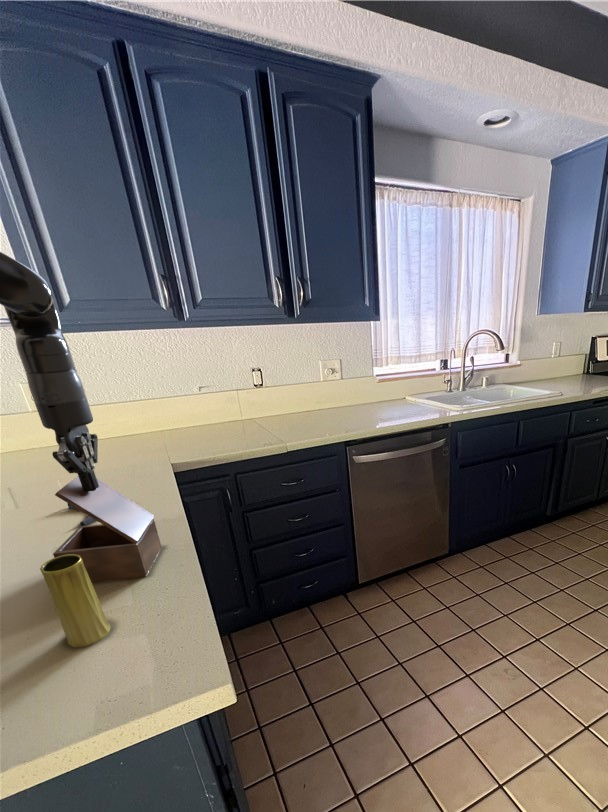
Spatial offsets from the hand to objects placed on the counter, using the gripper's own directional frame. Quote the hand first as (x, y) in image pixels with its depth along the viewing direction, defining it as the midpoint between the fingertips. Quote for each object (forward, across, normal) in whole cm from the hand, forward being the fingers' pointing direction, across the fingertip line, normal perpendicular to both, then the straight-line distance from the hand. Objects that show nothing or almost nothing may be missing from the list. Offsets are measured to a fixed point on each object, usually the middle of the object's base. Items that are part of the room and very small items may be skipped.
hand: (91, 489), depth 82 cm
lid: (+4, 0, +2) cm, 4 cm away
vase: (+18, +22, +3) cm, 28 cm away
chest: (+18, 0, 0) cm, 18 cm away
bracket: (+18, -32, -17) cm, 40 cm away
